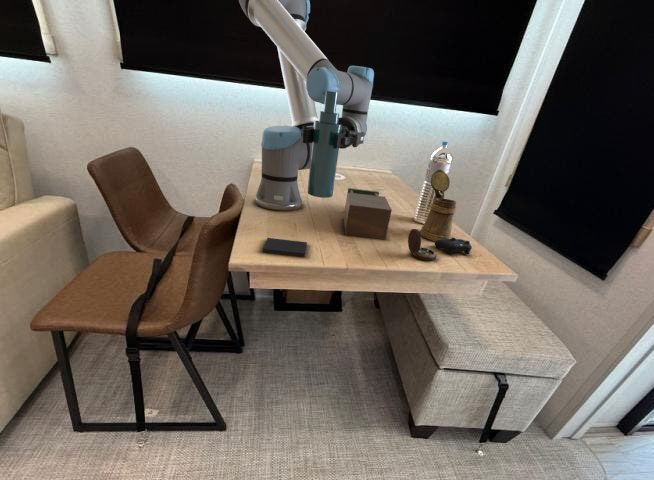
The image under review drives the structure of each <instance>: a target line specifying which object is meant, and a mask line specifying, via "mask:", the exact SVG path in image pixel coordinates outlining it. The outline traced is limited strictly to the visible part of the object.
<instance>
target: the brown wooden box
mask: <svg viewBox="0 0 654 480" xmlns="http://www.w3.org/2000/svg"><path fill="white" fill-rule="evenodd" d="M347 192H348V191H347ZM346 199H347V202H346V201H345V205H346V208H345V207H344V216H343V227H344V235H345V236H352V237H362V238H368V239H369V238H370V239H379V240H386V237H387V234H388V233H387V232H388V228H389V225H390V220H391V215H392V211H393V209H392V208H391V206H390V204H389V201H388V200H387V198H386V196H380V195H379V196H373V195H365V194H357V193H349V192H348V195H347V194H346Z"/></svg>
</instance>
